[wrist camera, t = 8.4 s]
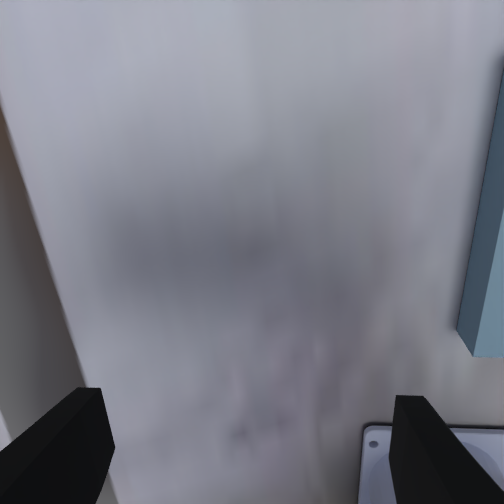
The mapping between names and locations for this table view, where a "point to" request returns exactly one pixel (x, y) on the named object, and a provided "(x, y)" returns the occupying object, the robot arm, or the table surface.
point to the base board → (487, 257)
